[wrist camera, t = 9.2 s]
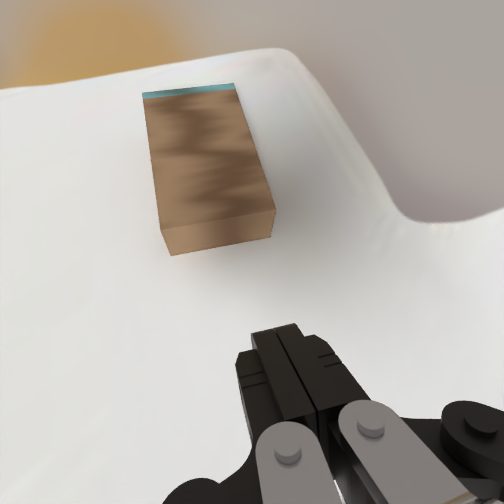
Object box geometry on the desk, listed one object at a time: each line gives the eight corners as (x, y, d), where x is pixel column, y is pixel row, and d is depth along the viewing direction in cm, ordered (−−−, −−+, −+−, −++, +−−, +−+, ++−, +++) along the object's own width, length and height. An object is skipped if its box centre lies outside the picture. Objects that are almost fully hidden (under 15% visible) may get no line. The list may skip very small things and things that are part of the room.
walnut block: (270, 237, 25) (233, 120, 31) (276, 209, 22) (233, 83, 28) (171, 256, 24) (152, 130, 30) (160, 230, 20) (142, 92, 26)
